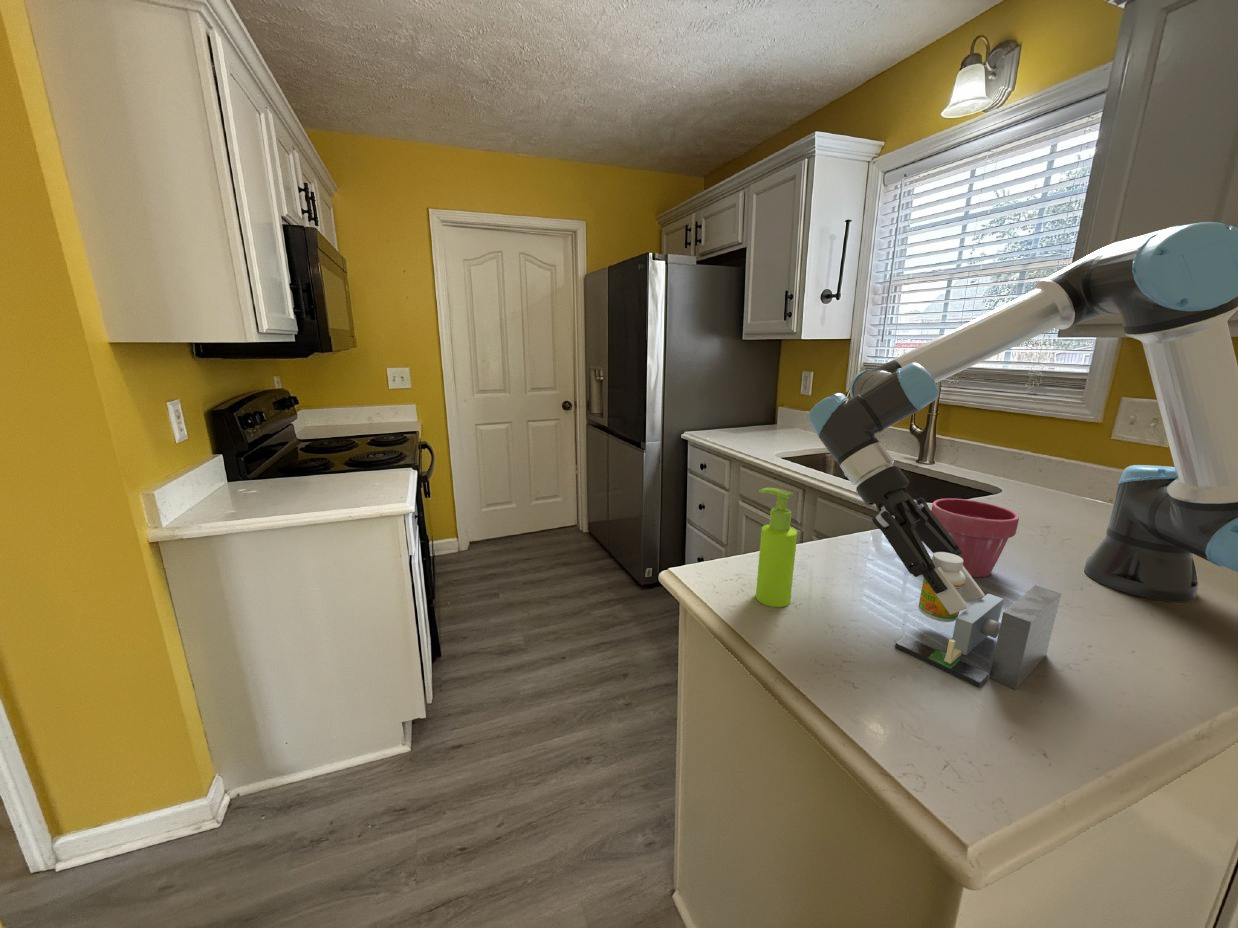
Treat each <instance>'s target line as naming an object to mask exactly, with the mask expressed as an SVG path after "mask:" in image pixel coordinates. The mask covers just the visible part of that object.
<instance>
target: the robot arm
mask: <svg viewBox="0 0 1238 928" xmlns="http://www.w3.org/2000/svg"><path fill="white" fill-rule="evenodd" d="M1237 311H1238V227H1236V226H1234V225H1230V224H1229V225H1228V224H1226V223H1223V222H1216V221H1215V222H1214V221H1203V222H1196V223H1186V224H1179V225H1178V224H1177V225H1175V226H1170V227H1167V228H1164V229H1161V230H1157V231H1152V232H1149V233H1146V234H1143V235H1139V236H1135V237H1131V238H1126V239H1122V240H1119V241H1115V242H1113V243H1110V244H1108V245H1105V246H1103V247H1101V248H1099V249H1096V250H1095V251H1093V252H1091V253H1090V254H1087V255H1086V256H1084V257H1082V258H1080V259H1078V260H1076V261H1074V262H1072V263H1071V264H1070V265H1068V266H1065V267H1063V268H1061V269H1059V270H1058V271H1057V272H1055V273H1052V274H1051V275H1048V276H1047V277H1044V278H1043V279H1041V280H1039V281H1037V282H1036V283H1035V284H1034V286H1033V289H1032V290H1031V291H1029V292H1027V293H1025V294H1023V295H1021V296H1019V297H1017V298H1014V299H1012V301H1009V302H1008V303H1004V304H1003V305H1001V306H999V307H997V308H995V309H992V310H991V311H989V312H987V313H985V314H982V315H981V316H979V317H976V318H975V319H973V320H971V321H969V322H966V323H965V324H962V325H961V326H959V327H958V326H957V328H955V329H953V330H950V331H948V332H946V333H945V334H942V335H941V336H939V337H936V338H934V339H932V340H930V341H928V342H926V343H924V344H922V345H920V346H918V347H916V348H915V349H912V350H910V351H907V352H906V353H904V354H902V355H900V356H898V357H896V358H894V359H892V360H891V361H888V362H886V363H884V364H881V365H880V366H878V367H875V368H871V369H865V370H862V371H860V372H859V373H857V374H856V375H854V376H853V378H852V379H851V382H850V383H849V390H848V391H849V395H850V398H849V397H847V396H846V395H845V394H844V393H841V392H837V393H833V394H832V395H830V396H827V397H825V398H823V399H821V400H820V401H819V402H817V403H816V404H815V405H814V406H813V407H812V408H811V409H810V411H809V413H808V416H807V417H808V418H807V419H808V420H807V421H808V422H809V424H810V426H812V429H813V430H814V432H815V434H816V435H817V437H818V439H819V440H820V441H821V443H822V444H823V445H824V446H825V448H826V449H827V451H828V452H829V454H830V455H831V456H832V458H833V459H834V461H835V463H837V465H838V466H839V467H840V469H841V470H842V471H843V475H844V476H845V477H846V478H847V479H848V481H850V483H851V485H853V486H856V488H855V490H856V492H857V494H858V495H859V497H860V499H861V500H862V501H863V502H864V504H865V506H868V507H871V506H875V507H876V509H877V512H878V514H877V515H875V516H874V517H872V519H871V521H872V523H873V524H874V525H875V526H876V527H877V528H878V529H879V530H880V531H881V533H882V534H883V535H884V537H885V538H886V540H887V541H888V543H889V544H890V546H891V548H892V549H893V551H894V552H895V553H896V555H897V556H898V558H899V559H900V561H901V562H902V564H903V565H904V567H905V568H906V570H907V571H908V573H909V574H911V575H912V576H914V577H915V578H917V577H919V576H922V577H923V578H925V580H926V581H927V582H928V584H929V585H930V587H931V588H932V590H933V591H934V592H935V594H936V595H937V597H938V598H939V599H940V601H941V602H942V604H943V605H944V607H945V608H946V609H947V611H948V612H949V614H950V615H951V614H954V613H956V612H959V613H960V612H962V611H966V610H967V609H968V608H970V606H969V605H968V603H969V602H972V601H975V600H977V599H982V598H983V597H984V596H986V594H985V593H984V591H983V590H982V589H981V587H980V586H979V585H978V583H977V582H976V581H975V579H974V577H971V575H970V574H969V573H968V571H967V570H966V569H965V567H964V566H963V568H962V569H961V570H960V571H961V572H963V574H964V575H965V578H966V580H965V586H964V591H963V596H962V597H961V595H960V594H959V592H958V591H957V590H956V588H955V587H954V585H953V584H952V583H951V581H950V580H949V579H948V577H947V576H946V574H945V573H944V572H943V570H942V569H941V567H938V568H936V569H935V565H934V563H933V561H932V557H931V556H930V553H929V552H928V550H927V548H928V549H929V550H930V551H931V552H932V553H933V554H934V553H936V552H946V553H951V554H954V555H957V556H958V555H960V554H962V552H961V550H960V549H959V546H958V545H957V544H956V542H955V541H954V540H953V539H952V537H951V536H950V535H949V533H948V532H947V531H946V529H945V528H944V527H943V526H942V524H941V523H940V522H939V520H938V519H937V518H936V517H935V515H934V514H933V513H932V511H931V509H930V506H928V505H929V504H928V503H927V501H926V500H925V499H924V498H923V497H922V496H921V497H919V498H917V499H914V498H913V497H912V496H911V495H910V494H909V493H908V492H907V491H906V490H905V489H906V488H907V487H908V486H909V485H910V481H909V479H908V477H906V475H905V474H904V473H903V471H902V470H901V468H900V467H899V466H896V465H894V462H895V459H894V458H893V457H892V456H891V455H890V453H889V452H888V451H887V449H885V447H884V445H883V444H882V443H881V442H880V440H879V439H878V438H877V437H876V435H878V434H880V433H881V432H884V431H885V430H887V429H889V428H890V427H892V426H894V425H895V424H897V423H899V422H902V421H903V420H904V419H906V418H909V417H910V416H912V415H913V414H915V413H917V412H919V411H922V410H923V409H924V408H925V407H927V406H928V405H930V404H931V403H933V402H934V401H935V400H937V398H938V397H939V393H940V390H939V387H938V385H937V383H939V382H941V381H943V380H945V379H948V378H950V377H952V376H953V375H956V374H958V373H960V372H962V371H965V370H967V369H968V368H971V367H973V366H975V365H977V364H980V363H982V362H984V361H986V360H988V359H990V358H993V357H995V356H997V355H999V354H1001V353H1003V352H1005V351H1009V350H1010V349H1011V348H1014V347H1016V346H1018V345H1021V344H1023V343H1026V342H1027V341H1029V340H1031V339H1033V338H1036V337H1038V336H1040V335H1043V334H1045V333H1046V332H1048V331H1050V330H1052V329H1056V330H1060V331H1061V330H1067V329H1068V328H1071V327H1073V326H1075V325H1078V324H1080V323H1083V322H1086V321H1089V320H1092V319H1097V318H1102V317H1106V316H1115V315H1116V316H1117V315H1119V316H1120V319H1121V320H1120V321H1121V323H1122V324H1121V325H1122V328H1123V331H1124V335H1125V336H1126V337H1130V338H1132V339H1135V340H1138V341H1140V342H1141V344H1142V347H1143V351H1144V354H1145V359H1146V362H1147V366H1148V370H1149V375H1150V377H1151V381H1152V386H1153V389H1154V393H1155V397H1156V400H1157V405H1158V408H1159V412H1160V416H1161V420H1162V424H1163V427H1164V431H1165V434H1166V438H1167V443H1168V447H1169V450H1170V454H1171V459H1172V461H1173V465H1174V466H1166V465H1163V466H1162V465H1151V464H1149V465H1148V464H1146V465H1145V464H1133V465H1129V466H1127V467H1125V468H1124V470H1123V471H1122V474H1121V476H1120V477H1119V480H1118V482H1117V490H1116V493H1115V497H1114V501H1113V506H1112V509H1111V513H1110V517H1109V521H1108V524H1107V529H1106V533H1105V535H1104V538H1103V539H1102V540H1101V541H1100V542H1099V544H1098V545H1097V546H1096V547H1095V549H1094V550H1093V552H1092V553H1091V555H1090V556H1088V557H1087V559H1086V561H1085V564H1084V569H1083V570H1084V573H1085V574H1086V575H1087V576H1088V577H1089V578H1090V579H1092V580H1094V581H1095V582H1098V583H1099V584H1102V585H1104V586H1106V587H1109V588H1111V589H1114V590H1117V591H1120V592H1123V593H1127V594H1130V595H1134V596H1138V597H1142V598H1147V599H1150V600H1151V599H1152V600H1157V601H1163V602H1170V603H1187V602H1192V601H1194V600H1195V599H1196V596H1197V594H1198V591H1199V582H1198V576H1197V569H1196V565H1195V559H1194V555H1195V556H1197V557H1199V558H1201V559H1203V560H1206V561H1207V562H1209V563H1212V564H1213V565H1215V566H1217V567H1222V568H1226V569H1229V570H1231V571H1234V572H1236V573H1238V361H1237V357H1236V353H1235V349H1234V345H1233V340H1232V337H1231V332H1230V327H1229V323H1228V321H1229V319H1230V318H1231V317H1232V316H1233V315H1234V314H1235V313H1236V312H1237ZM926 547H927V548H926Z"/></svg>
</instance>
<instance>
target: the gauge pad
mask: <svg viewBox="0 0 1238 928" xmlns="http://www.w3.org/2000/svg"><path fill="white" fill-rule="evenodd" d="M1003 603H1004V598H1002V597H1000V596H997V595H994V594H991V593H987V594H985V596H983V597H981V598H979V600H977V601H976V602H975V603H974V604H972V605H971V606H969V608H967V609H965V610H963V612H961V613H959V615H958V617H956V620H955V621H954V622H955V623H954V629H953V634H952V638H950V639H949V640H948V644H947V649H946V652H945V653H946V657H945V659H944V661H946V662H948V663H950V664H951V663H952V662H953V661H954V660H956V659H957V658H958V659H959V657H960V656H961V655H965V656H967V655H968V654H969V653H970V652H972V651H973V649H974V648H976V647H977V646H978V645H980V644H981V643H982V642H983V641H984V640H985V639H986V638H987V637H991V638H993V639H997V638H998V634H999V630H1000V625H1001V621H1000V615H1001V611H1002V607H1003ZM999 621H1000V622H999Z"/></svg>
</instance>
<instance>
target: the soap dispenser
mask: <svg viewBox="0 0 1238 928" xmlns="http://www.w3.org/2000/svg"><path fill="white" fill-rule="evenodd" d="M758 492H759V493H760V494H768V495H769V494H770V495H774V496H776V505H775V507H772V508H771V509H770V513H769V515H770V516H769V524H768V523H767V524H765V525H763V526H761V530H760V532H761V533H760V543H759V552H758V554H759V555H758V566H757V578H756V589H755V598H756V600H757V601H758V602H759V603H761V604H763V605H764V606H767V607H771V608H784V607H787V606H789V605H790V603H791V598H792V588H793V579H794V578H793V577H794V570H795V569H794V568H795V558H796V548H797V542H798V541H797V539H798V530H796V528H794V527H791V521H792V511H791V510H790V509H789V508H788V499H790V498H793V497H794V496H793V495H794V492H791V491H788V490H785V489H781V488H775V487H763V488H762V489H761V488H760V489H758Z"/></svg>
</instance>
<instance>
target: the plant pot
mask: <svg viewBox="0 0 1238 928" xmlns="http://www.w3.org/2000/svg"><path fill="white" fill-rule="evenodd" d="M930 510H931V511H932V513H933V514H934V515H935V517H936V518H937V519H938V520H939V522H940V523H941V524H942V526H943V527H944V528H945V529H946V531H947V532H948V533H949V535H950V536H951V537H952V539H953V540H954V541H955V542H956V544H957V545H958V546H959V549H960V550H961V552H962V554H960V555H958V556H959V557H961V558H962V559H963V566H964V567H965V569H966V570H967V571H968V573H969V574H970V575H971V577H972V578H987V577H989V576H990V575H991V573H992V572H993V570H994V567H995V565H996V564H997V562H998V561H999V558H1000V556H1001V555H1002V552H1003V550H1004V549H1005V546H1006V544H1007V542H1008V541H1009V540H1008V539H1009V538H1013V537H1014V536H1016V534H1017V529H1018V526H1019V519H1020V516H1019V515H1018V513H1017V512H1015V511H1013V510H1011V509H1009V508H1006V507H1003V506H1000V505H997V504H992V503H988V502H985V501H984V502H982V501H978V500H972V499H963V498H940V499H936V500H934V501H933V502H932V505H931V509H930Z"/></svg>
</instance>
